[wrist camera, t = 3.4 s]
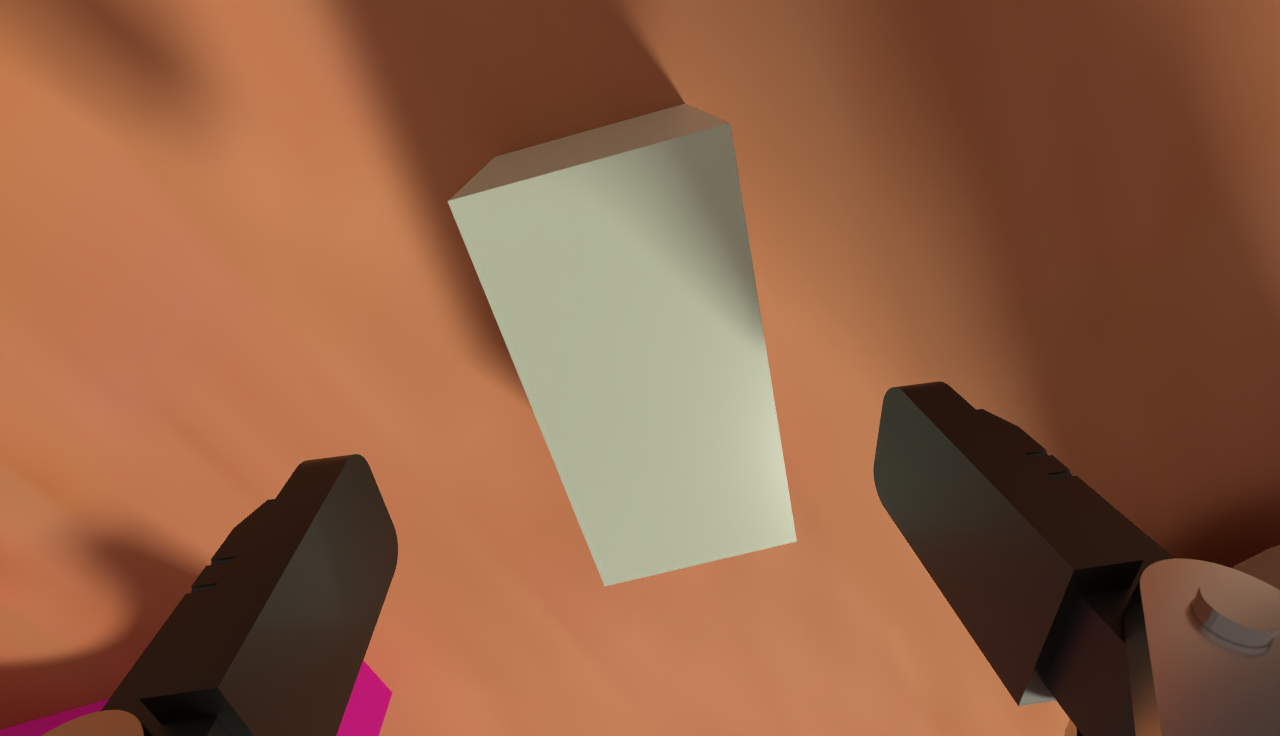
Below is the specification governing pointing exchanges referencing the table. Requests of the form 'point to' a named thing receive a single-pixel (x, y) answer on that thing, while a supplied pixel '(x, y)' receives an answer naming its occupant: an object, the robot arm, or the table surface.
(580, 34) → the table surface
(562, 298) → the green brick
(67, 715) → the toy block
